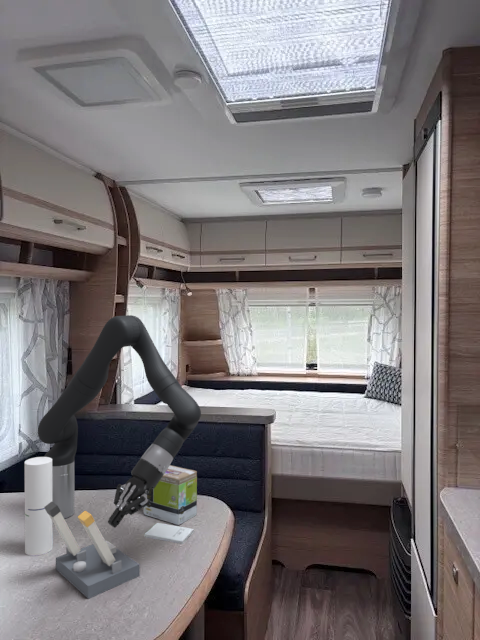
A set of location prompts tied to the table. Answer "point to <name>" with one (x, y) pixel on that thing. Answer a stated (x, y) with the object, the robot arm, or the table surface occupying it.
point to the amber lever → (96, 538)
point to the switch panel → (96, 570)
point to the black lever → (62, 528)
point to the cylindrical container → (38, 506)
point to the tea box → (174, 496)
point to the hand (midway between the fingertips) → (111, 525)
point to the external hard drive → (169, 533)
